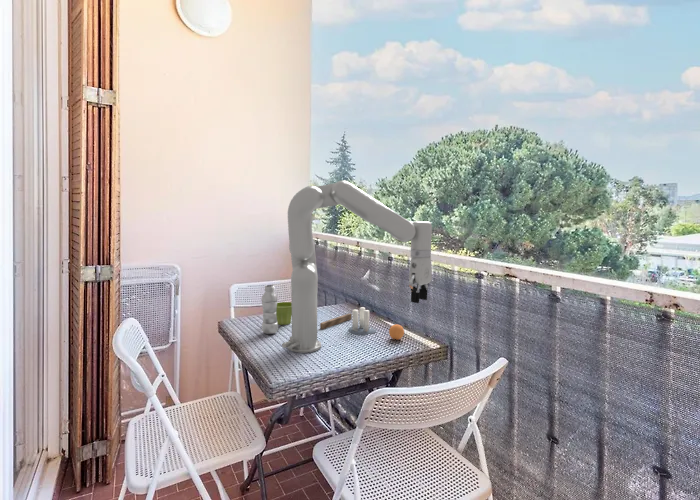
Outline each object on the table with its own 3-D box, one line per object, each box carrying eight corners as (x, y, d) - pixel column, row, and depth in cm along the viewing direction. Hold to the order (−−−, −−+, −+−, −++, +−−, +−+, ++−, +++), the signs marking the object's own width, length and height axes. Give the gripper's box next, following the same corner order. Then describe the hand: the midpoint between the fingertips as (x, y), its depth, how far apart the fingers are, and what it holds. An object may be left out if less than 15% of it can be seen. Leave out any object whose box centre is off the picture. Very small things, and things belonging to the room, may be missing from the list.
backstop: (322, 329, 166) (323, 323, 166) (320, 328, 167) (320, 323, 167) (351, 319, 182) (351, 313, 182) (348, 318, 183) (348, 313, 183)
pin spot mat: (365, 337, 157) (365, 336, 157) (342, 330, 165) (342, 330, 165) (381, 329, 167) (381, 329, 167) (359, 324, 174) (359, 323, 174)
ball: (399, 342, 151) (399, 328, 151) (386, 339, 155) (386, 324, 154) (406, 338, 156) (407, 324, 155) (393, 335, 160) (394, 321, 159)
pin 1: (355, 332, 163) (355, 311, 162) (351, 330, 165) (351, 310, 164) (359, 330, 165) (359, 310, 164) (354, 329, 167) (354, 309, 166)
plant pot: (283, 327, 168) (283, 308, 167) (268, 323, 173) (268, 304, 172) (298, 322, 175) (298, 304, 174) (284, 319, 181) (284, 300, 180)
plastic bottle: (274, 336, 157) (274, 288, 154) (259, 335, 158) (258, 287, 156) (280, 331, 163) (280, 284, 161) (265, 330, 164) (265, 284, 162)
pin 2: (362, 329, 167) (363, 309, 166) (358, 328, 169) (358, 308, 168) (365, 327, 169) (366, 307, 168) (361, 326, 171) (361, 306, 170)
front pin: (366, 332, 163) (367, 311, 162) (362, 331, 164) (362, 310, 163) (370, 331, 165) (370, 310, 164) (365, 330, 166) (365, 309, 165)
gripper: (418, 257, 137) (417, 307, 139) (439, 252, 150) (438, 298, 152) (400, 255, 141) (398, 303, 143) (422, 251, 155) (420, 295, 157)
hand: (419, 300), depth 148 cm, fingers open, 5 cm apart
